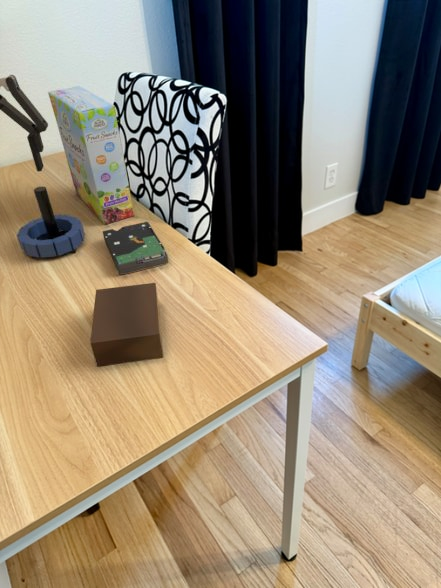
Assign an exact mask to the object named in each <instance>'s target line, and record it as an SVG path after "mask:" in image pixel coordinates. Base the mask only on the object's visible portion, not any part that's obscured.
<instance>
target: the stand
mask: <svg viewBox="0 0 441 588" xmlns="http://www.w3.org/2000/svg"><path fill="white" fill-rule="evenodd" d="M157 290H158V289H157V283H156V282H149V283H142V284H141V283H140V284H131V285H124V286H123V285H122V286H117V287H115V286H114V287H106V288H98V289H95V295H94V303H93V304H94V306H93V314H92V323H91V332H90V342H89V344H90V347H91V350H92V354H93V357H94V360H95V363H96V367H103V366H111V365H119V364H125V363H126V364H127V363H132V362H141V361H146V360H147V361H149V360H153V359H162V358H164V349H163V336H162V326H161V325H162V324H161V312H160V311H161V310H160V303H159V296H158V295H159V294H158V291H157Z"/></svg>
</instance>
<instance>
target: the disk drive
mask: <svg viewBox="0 0 441 588" xmlns="http://www.w3.org/2000/svg"><path fill="white" fill-rule="evenodd" d="M102 234H103V239H104V243H105V245H106V247H107V249H108V252H109V254H110V256H111V259H112V261H113V264H114V267H115V269H116V270H117V273H118V275H119V276H120V275H126V274H130V273H135V272H138V271H143V270H146V269H152V268H155V267H158V266H163V265H165V264H168V263H169V256H168V254H167V251H166V248H165V246H164V245H163V244H162V242H161V240H160V239H159V238H158V235H157V234H156V233H155V230H154V229H153V228H152V226H151V224H150V223H149V221H144V222H139V223H136V224H129V225H125V226H122V227H121V228H119V229H118V230H117V229H116V230H115V229H113V228H111V229H107V230H103V231H102Z"/></svg>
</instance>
